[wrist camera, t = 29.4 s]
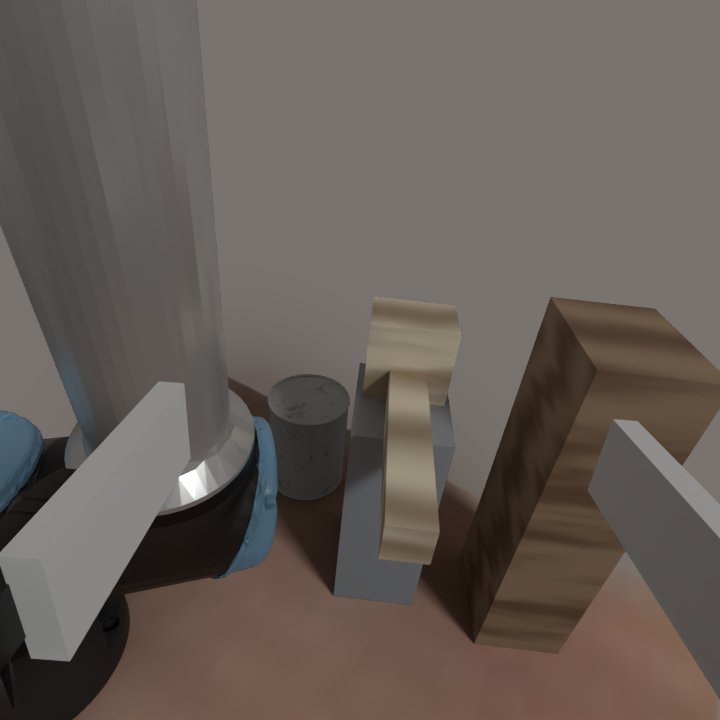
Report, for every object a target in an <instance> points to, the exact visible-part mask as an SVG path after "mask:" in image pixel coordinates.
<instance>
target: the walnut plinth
mask: <svg viewBox="0 0 720 720" xmlns="http://www.w3.org/2000/svg"><path fill="white" fill-rule="evenodd" d="M719 409H720V371H719V370H718V369H717V368H716V367H715V366H714V365H713V364H712V363H711V362H709V360H707V359H706V358H705V357H704V356H703V355H702V354H701V353H700V352H699V351H698V350H697V349H696V348H695V347H694V346H693V345H692V344H691V343H690V342H689V341H688V340H687V339H686V338H685V337H684V336H683V335H682V334H681V333H680V332H678V330H677V329H676V328H675V327H673V326H672V325H671V324H670V323H669V322H668V321H667V320H666V319H665V318H664V317H663V316H662V315H661V314H660V313H659V312H658V311H657V310H656V309H651V308H642V307H634V306H625V305H616V304H607V303H598V302H590V301H580V300H571V299H563V298H554V297H551V298H550V301H549V304H548V306H547V309H546V312H545V315H544V318H543V321H542V324H541V327H540V329H539V332H538V335H537V338H536V341H535V344H534V347H533V350H532V353H531V355H530V358H529V361H528V364H527V367H526V370H525V373H524V375H523V378H522V381H521V384H520V387H519V390H518V393H517V396H516V399H515V401H514V404H513V407H512V410H511V413H510V416H509V419H508V422H507V424H506V428H505V430H504V433H503V436H502V439H501V442H500V445H499V448H498V450H497V453H496V456H495V459H494V462H493V465H492V468H491V471H490V473H489V476H488V479H487V482H486V485H485V488H484V491H483V494H482V497H481V499H480V502H479V505H478V508H477V511H476V514H475V517H474V520H473V522H472V525H471V528H470V531H469V534H468V537H467V540H466V543H465V545H464V548H463V559H464V567H465V575H466V582H467V590H468V598H469V606H470V614H471V622H472V629H473V637H474V643H475V644H483V645H491V646H499V647H507V648H515V649H524V650H532V651H540V652H548V653H556V654H557V653H558V652H559V650H560V649H561V647H562V646H563V644H564V643H565V641H566V640H567V638H568V637H569V635H570V634H571V632H572V631H573V629H574V628H575V626H576V625H577V623H578V622H579V620H580V619H581V617H582V616H583V614H584V613H585V611H586V610H587V608H588V607H589V605H590V604H591V602H592V601H593V599H594V598H595V596H596V595H597V593H598V592H599V590H600V589H601V587H602V586H603V584H604V583H605V581H606V580H607V578H608V577H609V575H610V574H611V572H612V571H613V569H614V568H615V566H616V565H617V563H618V562H619V560H620V558H621V557H622V555H623V554H624V552H625V551H626V550H625V549H624V547H623V546H622V544H621V543H620V541H619V539H618V538H617V536H616V535H615V533H614V531H613V530H612V528H611V527H610V525H609V524H608V522H607V520H606V519H605V517H604V516H603V514H602V513H601V511H600V509H599V508H598V506H597V505H596V503H595V502H594V500H593V498H592V497H591V495H590V494H589V492H588V487H589V484H590V482H591V479H592V476H593V473H594V470H595V468H596V465H597V462H598V459H599V456H600V454H601V451H602V448H603V445H604V442H605V440H606V437H607V434H608V431H609V429H610V426H611V423H612V420H613V419H618V420H630V421H638V422H639V423H640V424H641V425H642V426H643V427H644V428H645V429H646V430H647V431H648V432H649V433H650V434H651V435H652V436H653V437H654V438H655V439H656V440H657V441H658V442H659V443H660V444H661V445H662V446H663V447H664V448H665V449H666V451H667V452H668V453H669V454H670V455H671V456H672V457H673V458H674V459H675V460H676V461H677V462H678V463H679V464H680V465H681V466H682V465H683V464H684V462H685V461H686V459H687V458H688V456H689V454H690V453H691V452H692V450H693V448H694V447H695V445H696V444H697V442H698V441H699V439H700V438H701V436H702V435H703V433H704V432H705V430H706V429H707V427H708V426H709V424H710V423H711V421H712V420H713V418H714V417H715V415H716V414H717V412H718V411H719Z"/></svg>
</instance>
